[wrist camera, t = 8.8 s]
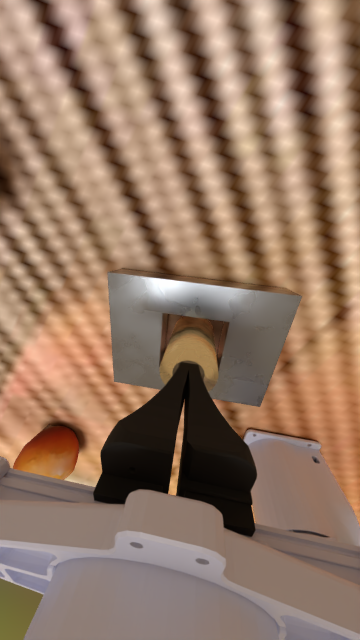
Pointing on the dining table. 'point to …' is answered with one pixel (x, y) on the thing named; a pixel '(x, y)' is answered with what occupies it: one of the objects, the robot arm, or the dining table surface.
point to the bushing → (191, 350)
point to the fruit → (50, 453)
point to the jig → (208, 303)
